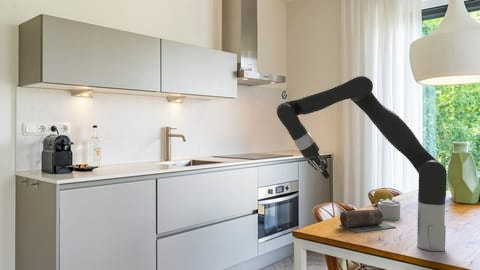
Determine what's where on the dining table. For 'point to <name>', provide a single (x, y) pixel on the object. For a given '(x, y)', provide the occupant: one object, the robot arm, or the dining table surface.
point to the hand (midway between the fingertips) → (327, 177)
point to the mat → (370, 228)
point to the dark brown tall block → (361, 218)
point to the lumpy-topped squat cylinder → (389, 209)
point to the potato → (382, 195)
